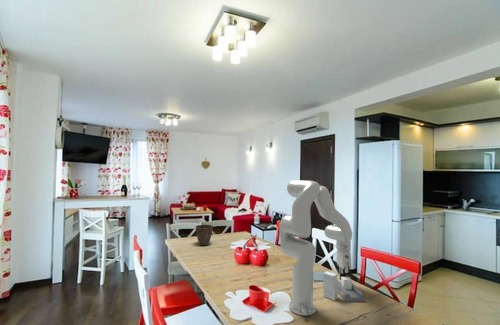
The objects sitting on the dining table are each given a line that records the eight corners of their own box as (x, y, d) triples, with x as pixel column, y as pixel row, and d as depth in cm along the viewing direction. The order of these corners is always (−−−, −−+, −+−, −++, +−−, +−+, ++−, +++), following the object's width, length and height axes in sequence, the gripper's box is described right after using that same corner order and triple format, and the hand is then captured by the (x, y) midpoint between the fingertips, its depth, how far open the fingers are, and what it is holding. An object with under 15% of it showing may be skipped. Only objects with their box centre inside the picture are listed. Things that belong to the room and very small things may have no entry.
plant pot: (191, 245, 217) (191, 226, 218) (204, 241, 229) (204, 223, 229) (203, 248, 208) (203, 229, 209) (216, 244, 220) (216, 226, 220)
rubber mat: (334, 281, 149) (334, 280, 149) (314, 281, 148) (314, 280, 148) (327, 273, 161) (327, 272, 161) (308, 273, 160) (308, 272, 160)
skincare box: (338, 298, 129) (338, 273, 130) (334, 301, 126) (334, 276, 126) (326, 293, 133) (326, 270, 134) (322, 296, 130) (322, 272, 131)
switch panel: (364, 301, 126) (364, 294, 126) (344, 301, 126) (344, 294, 126) (349, 285, 144) (349, 279, 144) (332, 285, 144) (332, 279, 144)
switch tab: (351, 289, 134) (351, 279, 135) (343, 289, 134) (343, 279, 134) (348, 286, 138) (348, 276, 139) (341, 286, 138) (341, 276, 138)
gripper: (356, 251, 134) (355, 286, 133) (344, 243, 149) (344, 274, 148) (342, 250, 134) (341, 286, 133) (331, 243, 149) (331, 274, 148)
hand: (343, 280), depth 141 cm, fingers closed
